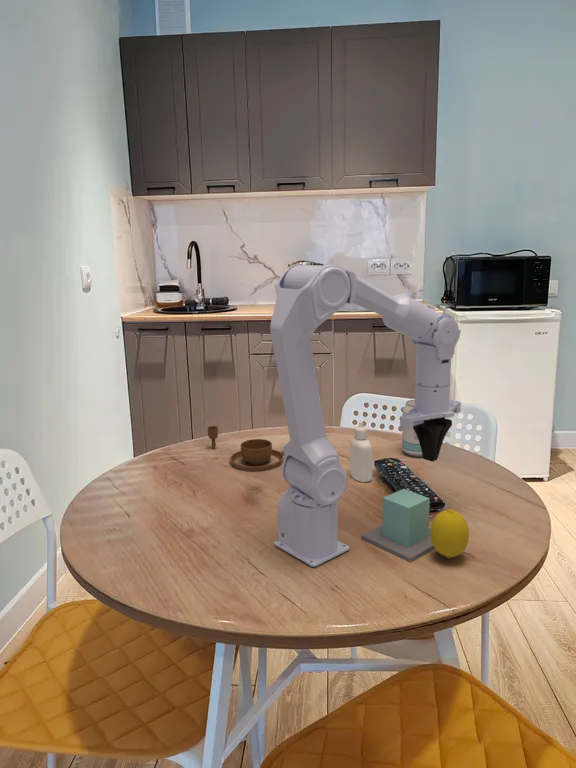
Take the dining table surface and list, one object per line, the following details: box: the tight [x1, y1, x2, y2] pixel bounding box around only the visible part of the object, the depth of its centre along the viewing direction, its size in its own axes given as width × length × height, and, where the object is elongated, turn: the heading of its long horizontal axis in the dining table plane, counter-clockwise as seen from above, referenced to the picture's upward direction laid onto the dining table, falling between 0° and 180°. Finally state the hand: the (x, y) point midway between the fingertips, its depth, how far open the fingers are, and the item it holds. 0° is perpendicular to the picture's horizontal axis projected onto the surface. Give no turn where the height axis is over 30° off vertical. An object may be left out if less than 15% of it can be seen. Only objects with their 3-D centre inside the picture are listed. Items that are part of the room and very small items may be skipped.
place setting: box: [207, 425, 284, 472], centre depth 133 cm, size 18×20×6 cm
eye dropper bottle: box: [349, 421, 373, 483], centre depth 118 cm, size 4×6×12 cm
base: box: [360, 524, 435, 563], centre depth 94 cm, size 10×10×1 cm
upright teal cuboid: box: [382, 488, 431, 547], centre depth 93 cm, size 5×5×7 cm
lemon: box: [430, 508, 470, 559], centre depth 87 cm, size 6×6×8 cm
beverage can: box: [401, 399, 423, 458], centre depth 132 cm, size 7×7×12 cm
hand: (430, 459), depth 101 cm, fingers closed
